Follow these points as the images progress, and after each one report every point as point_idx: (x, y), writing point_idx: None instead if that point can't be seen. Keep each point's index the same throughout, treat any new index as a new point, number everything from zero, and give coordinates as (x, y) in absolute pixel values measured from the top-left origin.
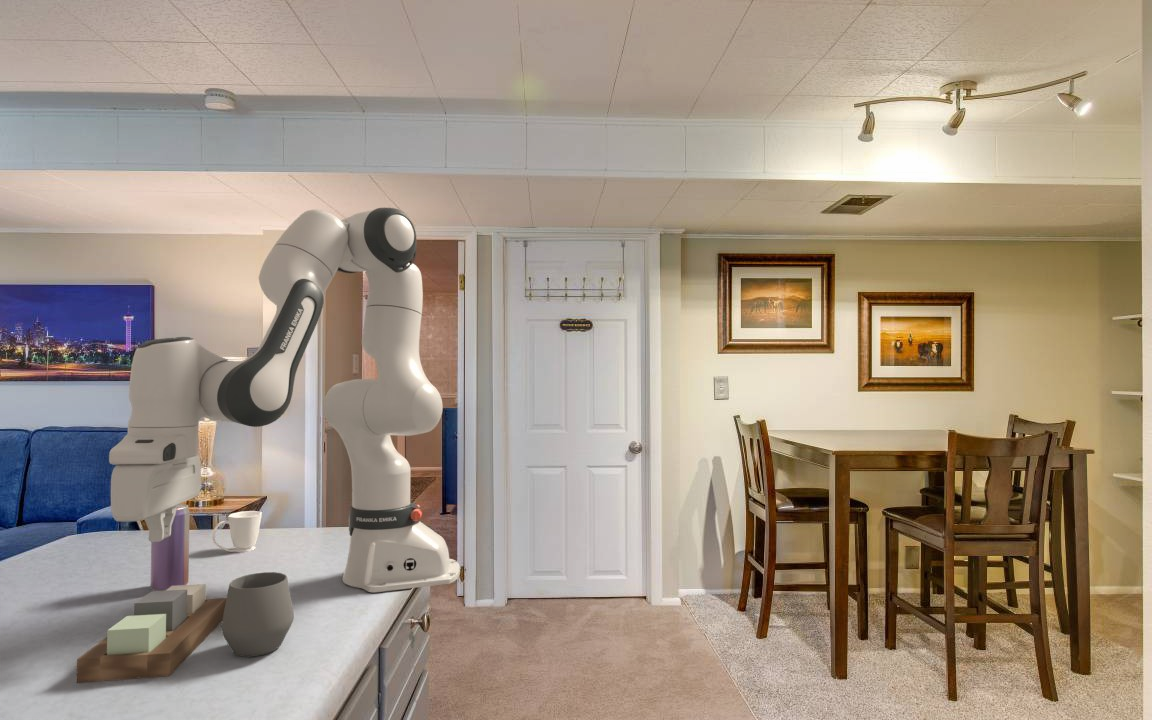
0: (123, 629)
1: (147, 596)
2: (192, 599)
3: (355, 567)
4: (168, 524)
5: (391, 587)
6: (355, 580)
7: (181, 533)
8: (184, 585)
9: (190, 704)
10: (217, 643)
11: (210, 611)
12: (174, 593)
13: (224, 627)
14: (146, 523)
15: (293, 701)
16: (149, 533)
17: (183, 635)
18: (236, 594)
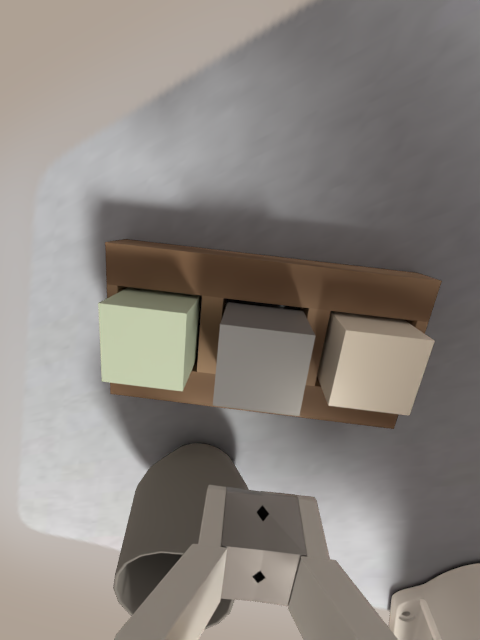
0: (100, 334)
1: (270, 339)
2: (326, 398)
3: (468, 618)
4: (294, 611)
5: (392, 621)
6: (445, 589)
7: None
8: (421, 370)
9: (37, 419)
10: (241, 412)
11: (311, 414)
12: (274, 395)
13: (154, 473)
14: (149, 595)
15: (37, 516)
16: (202, 521)
17: (188, 396)
18: (124, 551)
